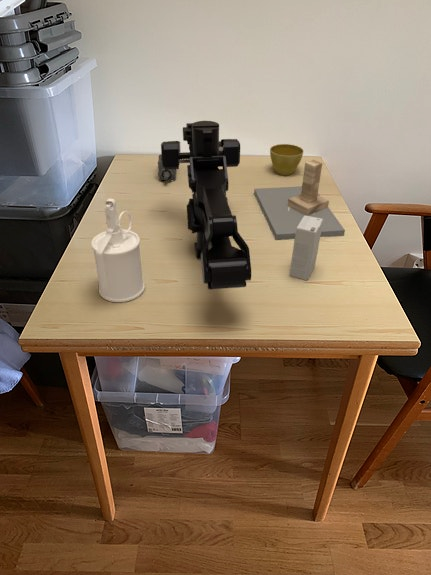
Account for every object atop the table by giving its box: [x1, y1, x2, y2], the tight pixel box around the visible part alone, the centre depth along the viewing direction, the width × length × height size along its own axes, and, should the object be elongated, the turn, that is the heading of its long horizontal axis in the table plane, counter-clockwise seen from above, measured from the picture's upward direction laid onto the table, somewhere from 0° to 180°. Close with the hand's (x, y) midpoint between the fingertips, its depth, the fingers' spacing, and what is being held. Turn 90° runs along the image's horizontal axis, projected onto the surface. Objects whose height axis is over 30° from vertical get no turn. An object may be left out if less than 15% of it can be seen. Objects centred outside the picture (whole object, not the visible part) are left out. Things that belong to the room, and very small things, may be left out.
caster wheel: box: [157, 154, 177, 182], centre depth 141 cm, size 6×10×15 cm
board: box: [253, 185, 346, 241], centre depth 125 cm, size 26×17×2 cm, turn 8°
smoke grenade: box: [90, 198, 146, 303], centre depth 91 cm, size 10×9×20 cm
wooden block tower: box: [287, 159, 330, 216], centre depth 121 cm, size 8×7×12 cm
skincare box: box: [289, 216, 323, 281], centre depth 99 cm, size 6×4×12 cm
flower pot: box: [269, 143, 305, 176], centre depth 145 cm, size 10×10×7 cm
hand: (197, 142), depth 120 cm, fingers open, 9 cm apart
